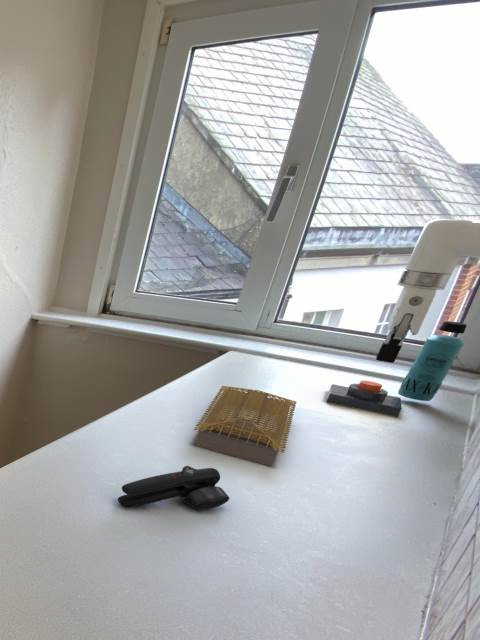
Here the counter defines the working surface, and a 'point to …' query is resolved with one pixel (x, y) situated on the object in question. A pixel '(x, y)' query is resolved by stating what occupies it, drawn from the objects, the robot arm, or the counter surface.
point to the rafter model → (246, 424)
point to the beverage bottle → (432, 363)
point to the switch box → (365, 399)
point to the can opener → (177, 489)
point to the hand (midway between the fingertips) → (384, 360)
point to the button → (369, 386)
